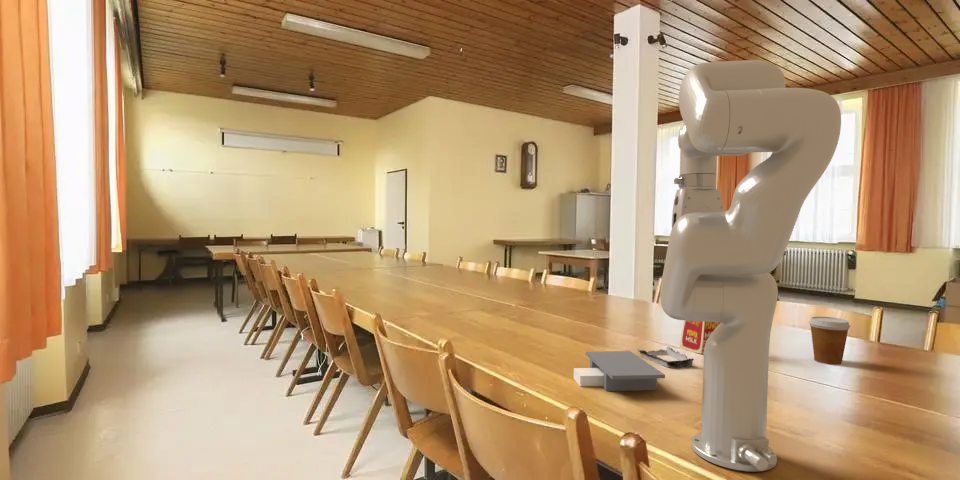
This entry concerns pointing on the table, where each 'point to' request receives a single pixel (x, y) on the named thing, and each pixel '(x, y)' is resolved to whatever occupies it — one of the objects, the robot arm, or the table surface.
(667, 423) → the table surface
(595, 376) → the white rectangular block
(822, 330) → the disposable coffee cup
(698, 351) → the milk carton
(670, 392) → the table surface
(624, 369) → the grey flat-topped block
